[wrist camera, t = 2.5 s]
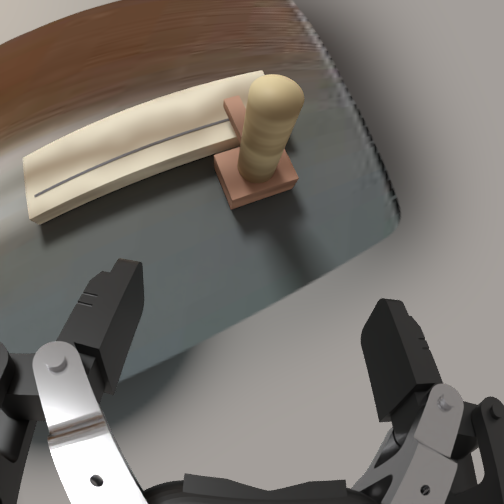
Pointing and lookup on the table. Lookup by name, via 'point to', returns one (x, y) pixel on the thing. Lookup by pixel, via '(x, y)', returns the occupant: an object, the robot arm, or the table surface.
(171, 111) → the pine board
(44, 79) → the table surface
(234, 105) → the marking gauge
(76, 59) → the table surface
